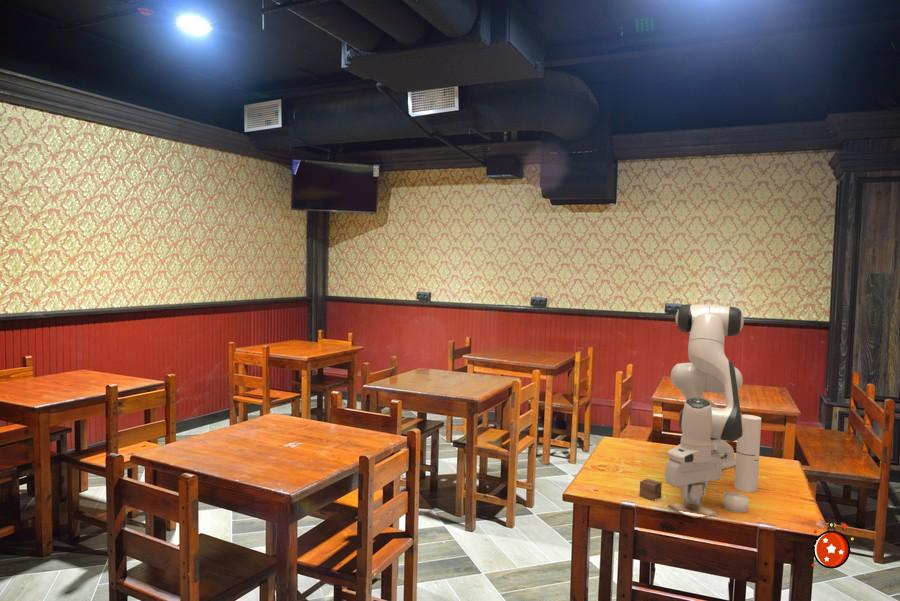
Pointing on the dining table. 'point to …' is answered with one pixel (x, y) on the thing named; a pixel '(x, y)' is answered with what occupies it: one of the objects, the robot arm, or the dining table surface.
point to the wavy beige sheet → (692, 509)
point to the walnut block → (650, 489)
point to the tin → (694, 496)
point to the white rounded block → (735, 502)
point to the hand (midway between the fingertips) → (693, 496)
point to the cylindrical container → (748, 455)
